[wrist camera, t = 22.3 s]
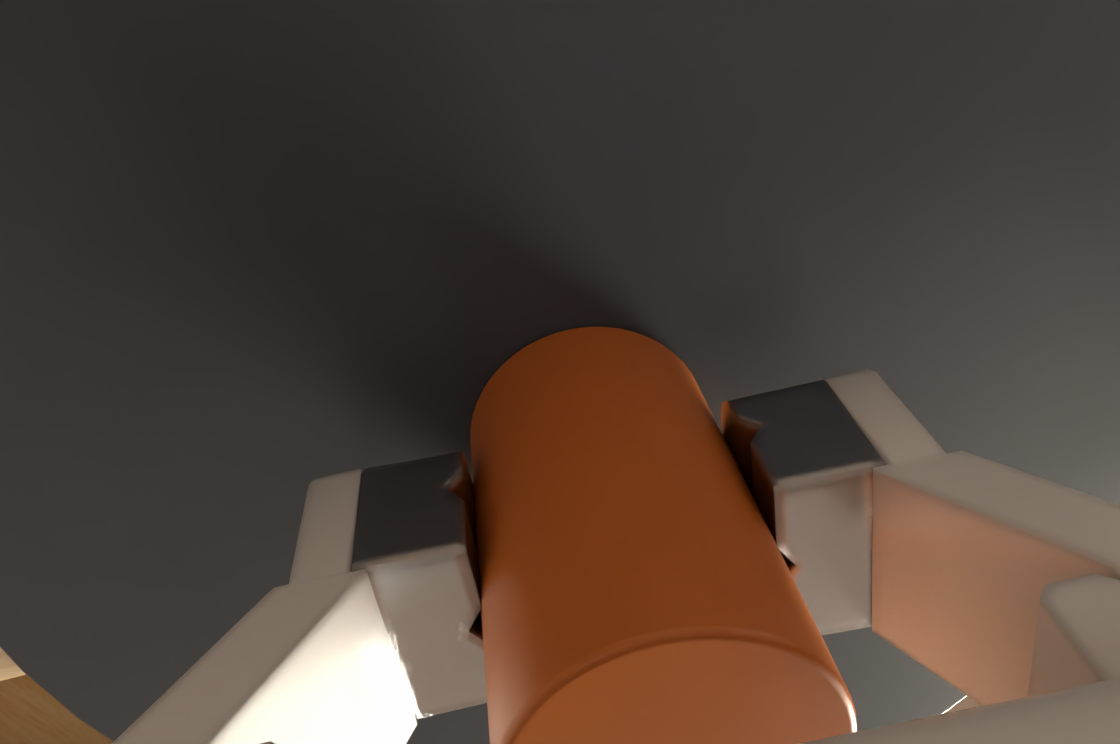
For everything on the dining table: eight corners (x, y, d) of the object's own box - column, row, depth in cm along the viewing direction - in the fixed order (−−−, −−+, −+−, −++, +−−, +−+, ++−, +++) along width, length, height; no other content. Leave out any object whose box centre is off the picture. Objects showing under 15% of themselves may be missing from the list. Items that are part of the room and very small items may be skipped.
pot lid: (1296, -506, 8) (2557, -1016, 3) (1085, 686, 15) (1389, 1078, 10) (-436, -225, 8) (-1902, -340, 3) (178, 869, 15) (55, 1365, 10)
